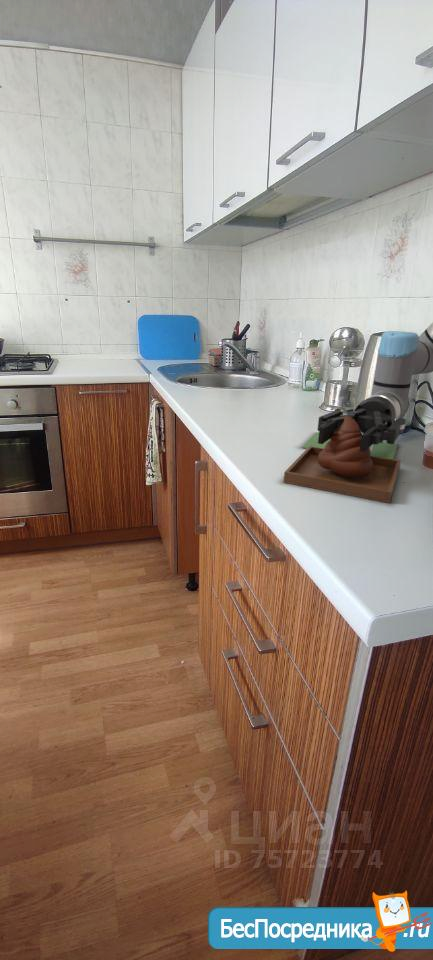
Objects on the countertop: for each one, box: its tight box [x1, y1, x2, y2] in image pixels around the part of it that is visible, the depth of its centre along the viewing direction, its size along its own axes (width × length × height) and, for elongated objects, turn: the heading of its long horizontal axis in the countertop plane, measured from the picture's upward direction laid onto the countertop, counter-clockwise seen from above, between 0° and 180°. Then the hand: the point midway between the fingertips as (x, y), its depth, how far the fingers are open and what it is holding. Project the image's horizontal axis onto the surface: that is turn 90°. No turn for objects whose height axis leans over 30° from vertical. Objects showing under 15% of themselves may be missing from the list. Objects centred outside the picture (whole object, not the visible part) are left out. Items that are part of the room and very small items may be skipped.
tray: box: [283, 446, 402, 504], centre depth 83 cm, size 17×17×2 cm
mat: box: [301, 431, 399, 459], centre depth 100 cm, size 18×13×1 cm
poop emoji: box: [318, 416, 373, 477], centre depth 81 cm, size 10×8×9 cm
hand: (341, 439), depth 76 cm, fingers closed on poop emoji, 6 cm apart
